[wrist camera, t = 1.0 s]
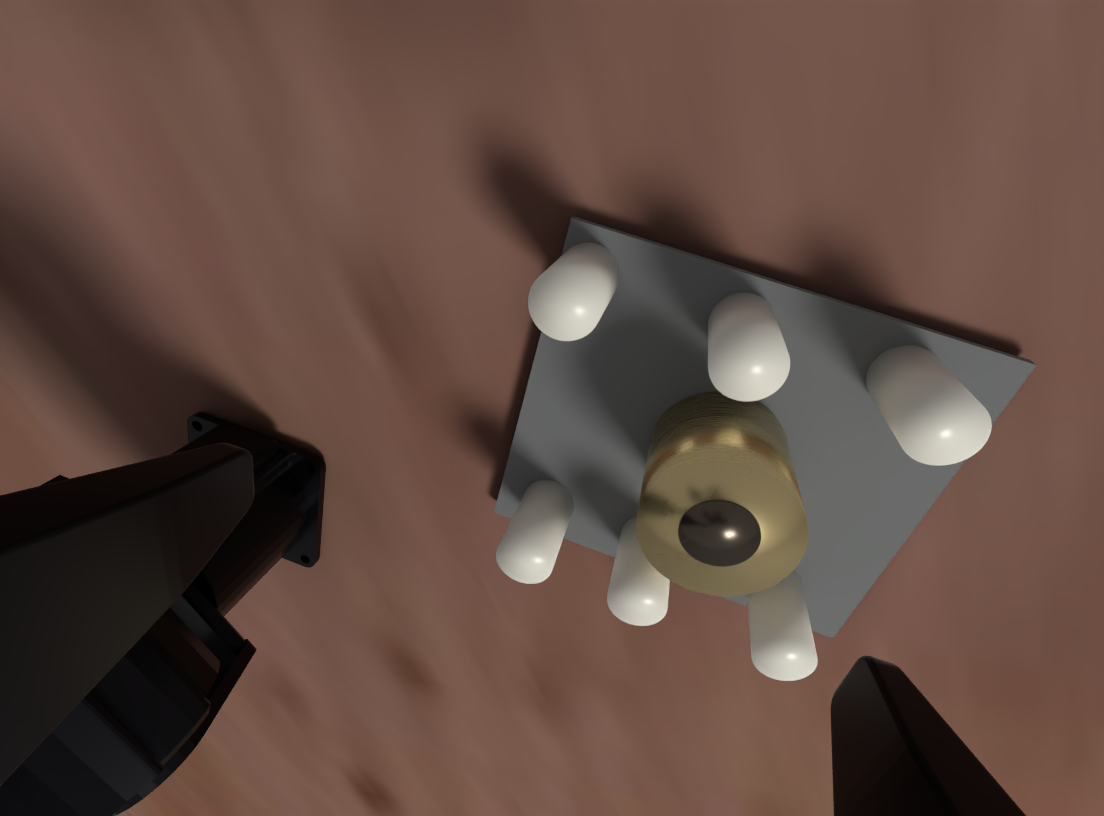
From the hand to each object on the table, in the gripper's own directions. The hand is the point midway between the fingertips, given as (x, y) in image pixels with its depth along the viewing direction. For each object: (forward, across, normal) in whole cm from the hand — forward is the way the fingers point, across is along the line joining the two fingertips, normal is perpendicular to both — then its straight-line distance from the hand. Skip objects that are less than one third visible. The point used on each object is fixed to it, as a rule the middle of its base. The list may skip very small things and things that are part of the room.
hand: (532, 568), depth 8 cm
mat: (+12, -4, +4) cm, 14 cm away
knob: (+12, -4, +4) cm, 13 cm away
